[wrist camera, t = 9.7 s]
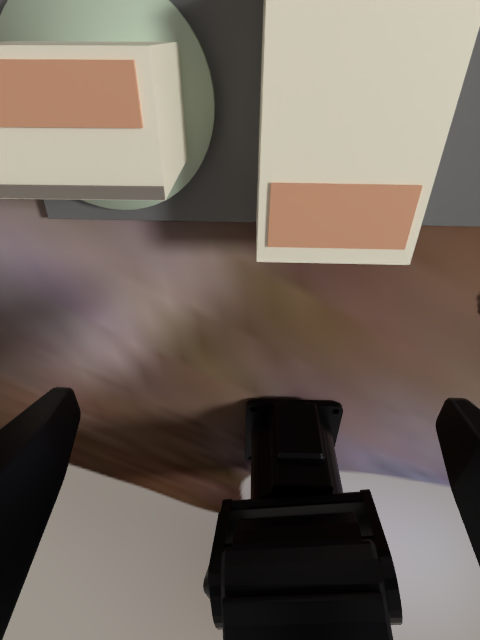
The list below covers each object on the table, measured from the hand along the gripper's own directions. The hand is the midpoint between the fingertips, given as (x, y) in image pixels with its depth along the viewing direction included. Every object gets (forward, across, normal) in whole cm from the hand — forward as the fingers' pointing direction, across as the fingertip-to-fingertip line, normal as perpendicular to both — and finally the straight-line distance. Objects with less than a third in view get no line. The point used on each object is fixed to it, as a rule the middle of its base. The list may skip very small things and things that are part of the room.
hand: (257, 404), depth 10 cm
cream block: (+11, +6, -5) cm, 13 cm away
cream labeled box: (+11, -3, -4) cm, 13 cm away
